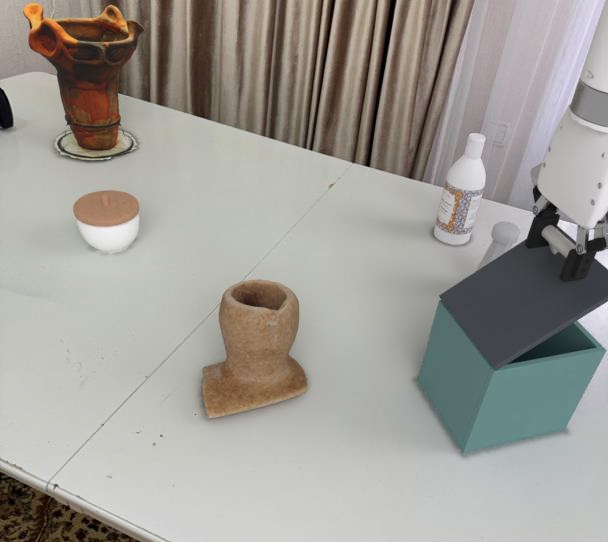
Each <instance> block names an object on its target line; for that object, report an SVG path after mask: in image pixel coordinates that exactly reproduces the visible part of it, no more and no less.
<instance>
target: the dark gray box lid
mask: <svg viewBox="0 0 608 542" xmlns="http://www.w3.org/2000/svg"><path fill="white" fill-rule="evenodd" d="M542 237H544V238H545V239H546V240H547V241H548V242H549V246H544V247H538V248H531V249H528V248H527V247H526V246H525V242H526V239H527V238H525V239H524V240H523V241H521V242H519V243H518V244H516V245H515V246H512V249H510V250H508V251H507V252H505V253H504V254H502V255H501V256H499V257H498V258H496V259H495V260H493V261H491V262H490V263H488V264H487V265H485V266H484V267H482V268H481V269H479V270H478V271H476V270H475V271H476V272H475V271H474V272H473V273H472V274H470V275H468V276H467V277H465V278H464V279H462V280H461V281H459V282H457V283H456V284H454V285H453V286H451V287H450V288H448V289H447V290H445V291H444V292H442V293H441V294H439V295H438V297H439V300H442V302H443V303H444V304H445V306H446V307H447V308H448V309H449V311H450V312H451V313H452V315H453V316H454V317H455V319H456V320H457V321H458V322H459V324H460V325H461V326H462V328H463V329H464V330H465V331H466V333H467V334H468V335H469V337H470V338H471V339H472V341H473V342H474V343H475V344H476V346H477V347H478V348H479V350H480V351H481V352H482V353H483V355H484V356H485V357H486V359H487V360H488V361H489V363H490V364H491V365H492V366H493V368H494V369H495V370H498V369H499V368H501V367H503V366H504V365H506V364H508V363H509V362H511V361H512V360H514V359H516V358H517V357H519V356H520V355H522V354H524V353H525V352H527V351H529V350H530V349H532V348H533V347H535V346H537V345H538V344H540V343H542V342H543V341H545V340H546V339H548V338H550V337H551V336H553V335H554V334H556V333H558V332H559V331H561V330H563V329H564V328H566V327H567V326H569V325H571V324H572V323H574V322H576V321H579V320H580V319H582V318H584V317H585V316H587V315H589V314H590V313H592V312H594V311H595V310H596V309H598V308H601V306H603V305H605V304H606V303H608V268H607V267H606V266H604V264H602V263H601V262H600V261H599V260H598V259H597V258H596V257H595V258H594V260H593V262H592V265H591V267H590V269H589V272H588V274H587V276H586V277H585V278H584V279H581V280H575V281H569V282H562V281H561V280H560V279H559V278H560V277H559V276H560V273H561V271H562V268H563V266H564V263H565V261H566V258H567V256H568V253H569V251H570V250H571V249H575V248H576V240H575V239H573V237H571V235H569V234H568V233H566V232H565V231H564V230H563V229H562V228H561V227H560V226H559V225H557V227H556V228H555V227H554V226H552V225H549V226H547V227H545V228H544V229H543V231H542Z"/></svg>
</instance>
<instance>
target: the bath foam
mask: <svg viewBox="0 0 608 542" xmlns="http://www.w3.org/2000/svg"><path fill="white" fill-rule="evenodd" d="M486 140H487V139H486V136H485V135H484V134H482V133H477V132H472V133H469V135H468V136H467V140H466V145H465V149H464V153H463V155H462V156H460V157H459V158H457V160H456V161H455V162H454V163H453V164H452V165H451V167H450V168H449V171H448V172H447V175H446V178H445V182H444V185H443V191H442V195H441V199H440V203H439V208H438V211H437V215H436V219H435V224H434V228H433V235H434V237H435V238H436V239H437V240H438V241H440V242H442V243H444V244H447V245H453V246H460V245H464V244H467V243H468V242H469V241H470V238H471V235H472V231H473V228H474V225H475V222H476V218H477V214H478V212H479V211H478V210H479V207H480V204H481V200H482V198H483V197H482V196H483V194H484V190H485V186H486V178H487V175H486V169H485V166H484V162H483V160H482V158H481V157H482V153H483V150H484V146H485V143H486Z"/></svg>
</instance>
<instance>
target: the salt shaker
mask: <svg viewBox="0 0 608 542" xmlns="http://www.w3.org/2000/svg"><path fill="white" fill-rule="evenodd" d="M520 233H521V230H520V228H519V226H518V225H516V224H515V223H513V222H510V221H499V222H496V223H494V225H493V226H492V229H491V233H490V236H491V238H492V241H491V242H490V244H489V246H488V248H487V249H486V251H485V254H484V255H483V257H482V259H481V260H480V262H479V264H478V266H477V268H476V269H475V271H474V273H475V272H476V271H478V270H479V269H481V268H482V267H484V266H485V265H487V264H488V263H490V262H491V261H493V260H495V259H496V258H498V257H499V256H501V255H502V254H504V253H505V252H507V251H508V250H510V249H512V248H513V245H514V244H515V243H517V242H518V240H519V238H520Z"/></svg>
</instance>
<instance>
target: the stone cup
mask: <svg viewBox="0 0 608 542" xmlns="http://www.w3.org/2000/svg"><path fill="white" fill-rule="evenodd" d="M299 301H300V300H299V299H298V296H297V295H296V294H295V292H294V290H292V289H290V288H289V287H288V286H286V285H284V284H282V283H280V282H276V281H271V280H266V279H249V280H243V281H240V282H237V283H234V284H233V285H232V284H231V285H230V286H229V287H227V288H226V289H225V291H224V292H223V294H222V296H221V300H220V302H219V303H220V304H219V309H218V324H219V328H220V334H221V337H222V340H223V345H224V349H225V352H226V354H225V355H226V359H225V360H224V361H220V362H218V363H215V364H211V365H210V364H209V365H207V366H206V365H205V366H204V367H202V369H201V372H202V376H203V380H202V384H201V391H202V400H203V406H204V412H205V413H206V418H207V419H216V418H221V417H227V416H230V415H236V414H240V413H244V412H248V411H253V410H255V409H260V408H264V407H267V406H271V405H274V404H278V403H282V402H284V401H287V400H290V399H291V400H292V399H294V398H297V397H299V396H301V395H302V394H304V393H306V391H307V390H308V386H309V383H308V378H307V376H306V375H307V374H306V373H305V370H304V368H303V367H302V366H301V364H300V363H299V362H298V361H297V360H296V359H294V358H293V356H291V355H289V354H290V351H291V350H292V347H293V345H294V343H295V341H296V338H297V335H298V332H299V324H300V302H299Z"/></svg>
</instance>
